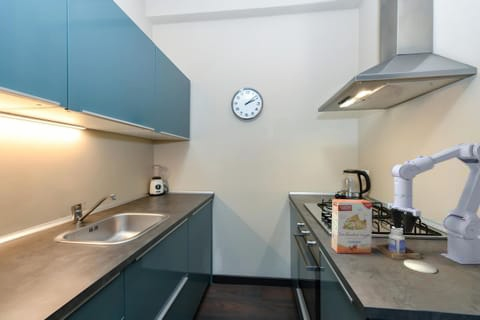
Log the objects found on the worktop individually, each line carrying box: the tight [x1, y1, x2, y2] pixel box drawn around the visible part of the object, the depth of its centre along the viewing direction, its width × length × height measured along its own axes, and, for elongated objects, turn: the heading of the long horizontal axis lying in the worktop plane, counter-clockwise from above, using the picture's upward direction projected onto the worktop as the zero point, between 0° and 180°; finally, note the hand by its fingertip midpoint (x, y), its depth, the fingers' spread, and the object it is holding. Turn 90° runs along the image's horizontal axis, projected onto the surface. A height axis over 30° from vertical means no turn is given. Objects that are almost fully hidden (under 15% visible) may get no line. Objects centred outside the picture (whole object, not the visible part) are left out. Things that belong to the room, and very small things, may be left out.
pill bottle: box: [388, 227, 406, 254], centre depth 89 cm, size 5×5×10 cm
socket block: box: [374, 243, 422, 261], centre depth 89 cm, size 11×11×2 cm
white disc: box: [403, 259, 438, 274], centre depth 78 cm, size 9×9×1 cm
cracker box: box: [331, 198, 373, 254], centre depth 92 cm, size 14×6×21 cm, turn 91°
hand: (402, 230), depth 86 cm, fingers open, 5 cm apart
